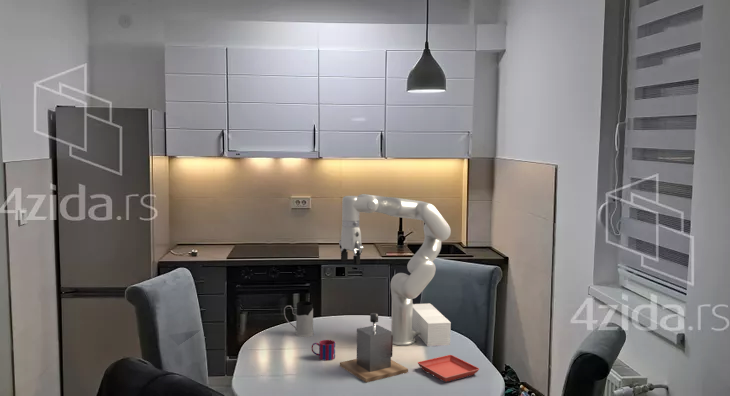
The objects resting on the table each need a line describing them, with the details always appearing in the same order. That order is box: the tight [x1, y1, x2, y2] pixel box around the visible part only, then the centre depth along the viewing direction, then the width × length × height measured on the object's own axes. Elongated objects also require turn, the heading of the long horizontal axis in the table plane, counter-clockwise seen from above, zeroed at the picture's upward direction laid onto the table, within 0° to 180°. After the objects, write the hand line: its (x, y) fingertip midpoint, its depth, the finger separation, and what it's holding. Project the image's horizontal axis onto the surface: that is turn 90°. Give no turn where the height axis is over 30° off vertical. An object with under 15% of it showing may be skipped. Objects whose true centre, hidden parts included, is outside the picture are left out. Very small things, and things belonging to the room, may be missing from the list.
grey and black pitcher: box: [283, 300, 315, 338], centre depth 295 cm, size 9×14×15 cm, turn 89°
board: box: [339, 358, 409, 383], centre depth 253 cm, size 20×20×2 cm
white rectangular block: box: [412, 302, 452, 347], centre depth 298 cm, size 32×11×11 cm, turn 11°
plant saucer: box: [417, 354, 480, 383], centre depth 251 cm, size 18×18×3 cm
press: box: [356, 324, 394, 372], centre depth 253 cm, size 13×10×15 cm
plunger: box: [369, 312, 379, 331], centre depth 252 cm, size 8×8×21 cm
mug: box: [311, 339, 336, 362], centre depth 266 cm, size 7×10×7 cm
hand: (350, 262), depth 276 cm, fingers open, 9 cm apart
